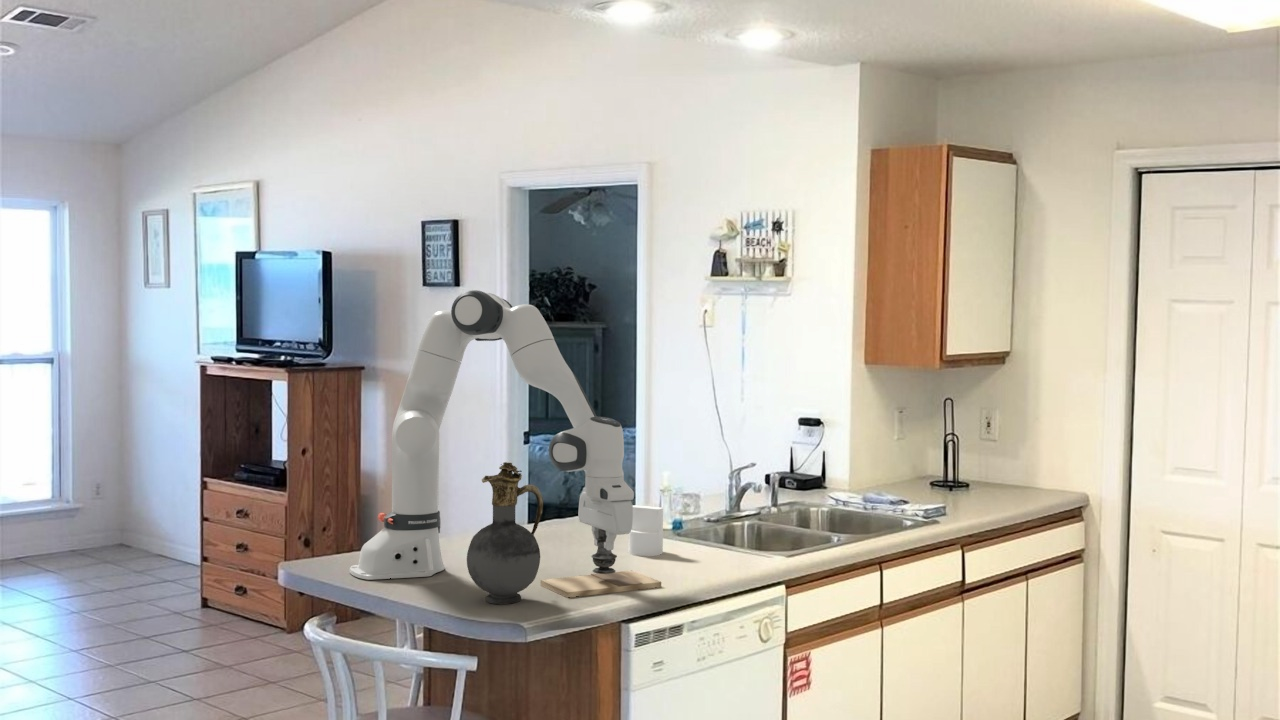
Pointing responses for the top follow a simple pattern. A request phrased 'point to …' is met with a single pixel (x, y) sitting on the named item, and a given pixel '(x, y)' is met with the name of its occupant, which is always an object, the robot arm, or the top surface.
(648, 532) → the white canister
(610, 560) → the salt shaker
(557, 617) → the top surface
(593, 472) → the robot arm
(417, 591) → the top surface
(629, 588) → the plywood board
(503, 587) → the pitcher
